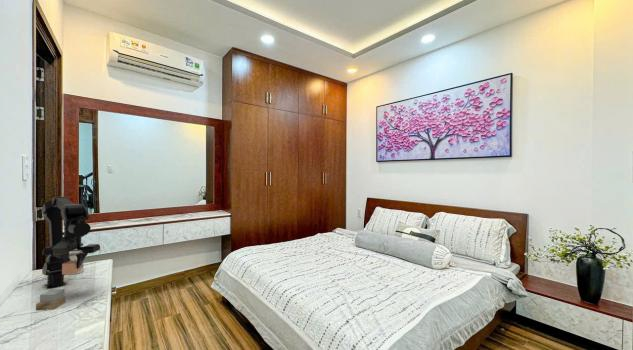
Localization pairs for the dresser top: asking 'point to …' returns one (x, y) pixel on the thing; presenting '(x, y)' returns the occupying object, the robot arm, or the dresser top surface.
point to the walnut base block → (50, 304)
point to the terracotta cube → (70, 267)
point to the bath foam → (73, 258)
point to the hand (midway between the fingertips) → (71, 268)
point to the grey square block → (52, 295)
